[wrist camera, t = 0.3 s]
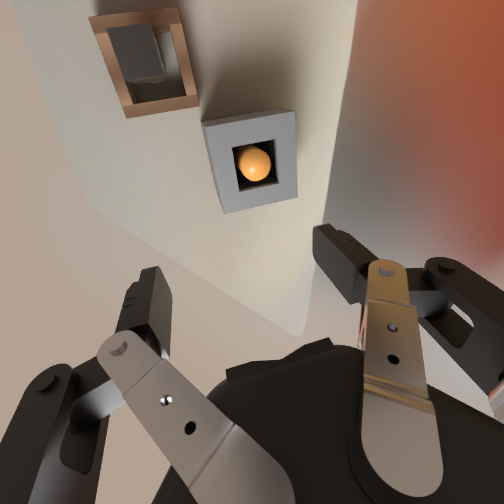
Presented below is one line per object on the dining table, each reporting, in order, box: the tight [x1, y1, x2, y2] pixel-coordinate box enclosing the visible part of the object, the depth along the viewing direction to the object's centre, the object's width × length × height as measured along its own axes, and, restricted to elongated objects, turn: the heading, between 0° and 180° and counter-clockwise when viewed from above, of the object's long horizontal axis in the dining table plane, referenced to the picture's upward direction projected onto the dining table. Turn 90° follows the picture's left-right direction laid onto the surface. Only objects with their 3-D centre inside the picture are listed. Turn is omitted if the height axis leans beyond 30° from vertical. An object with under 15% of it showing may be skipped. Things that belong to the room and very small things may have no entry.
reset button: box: [234, 144, 271, 181], centre depth 31 cm, size 4×4×5 cm
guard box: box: [201, 109, 298, 214], centre depth 32 cm, size 10×10×8 cm
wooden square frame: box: [88, 7, 200, 118], centre depth 26 cm, size 8×8×3 cm
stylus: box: [106, 23, 167, 84], centre depth 23 cm, size 3×3×12 cm
